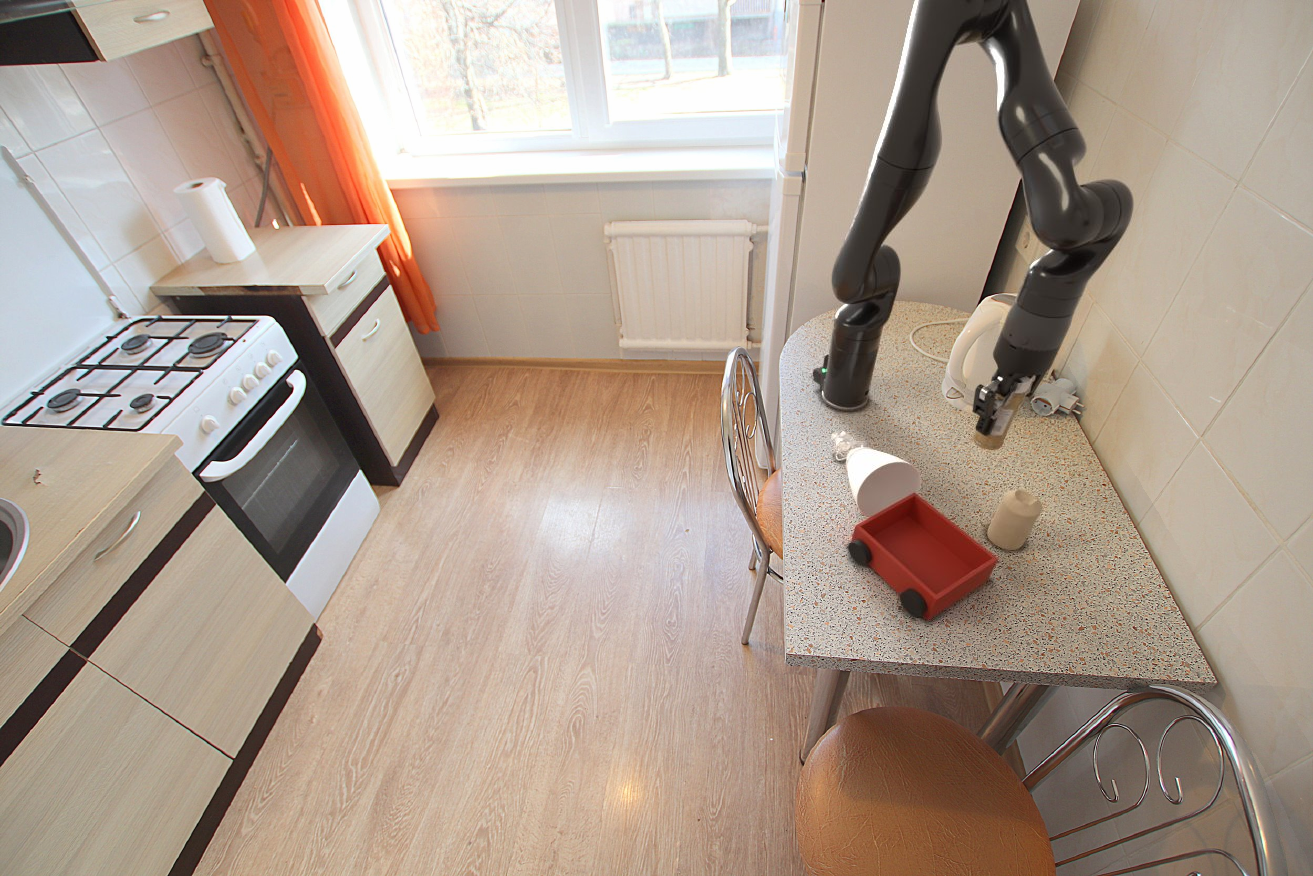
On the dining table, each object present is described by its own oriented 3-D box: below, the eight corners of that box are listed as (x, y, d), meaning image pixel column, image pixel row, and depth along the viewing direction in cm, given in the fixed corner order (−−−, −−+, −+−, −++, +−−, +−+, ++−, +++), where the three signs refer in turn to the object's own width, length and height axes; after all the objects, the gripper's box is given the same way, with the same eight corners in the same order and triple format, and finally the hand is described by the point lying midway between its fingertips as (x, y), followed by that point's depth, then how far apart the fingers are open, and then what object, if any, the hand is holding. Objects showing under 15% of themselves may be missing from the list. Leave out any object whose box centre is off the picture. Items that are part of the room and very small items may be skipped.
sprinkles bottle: (1008, 443, 97) (1040, 375, 88) (990, 455, 95) (1021, 387, 86) (982, 428, 100) (1010, 360, 91) (964, 439, 98) (991, 372, 89)
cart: (849, 547, 102) (855, 525, 98) (907, 514, 106) (914, 492, 102) (927, 621, 91) (936, 599, 87) (987, 580, 95) (999, 558, 92)
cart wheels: (846, 553, 101) (850, 537, 98) (915, 513, 106) (920, 497, 103) (917, 622, 91) (924, 607, 88) (989, 574, 96) (998, 558, 94)
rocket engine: (840, 403, 114) (890, 450, 98) (881, 430, 119) (934, 479, 103) (801, 450, 117) (843, 503, 102) (842, 474, 122) (888, 529, 107)
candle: (1028, 535, 101) (1051, 494, 95) (1016, 556, 98) (1039, 515, 92) (993, 519, 104) (1013, 478, 97) (981, 539, 101) (1000, 498, 95)
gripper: (1040, 305, 89) (1002, 397, 100) (974, 337, 84) (941, 430, 95) (1091, 328, 84) (1044, 422, 95) (1023, 364, 79) (982, 458, 91)
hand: (992, 425), depth 95 cm, fingers closed on sprinkles bottle, 4 cm apart
